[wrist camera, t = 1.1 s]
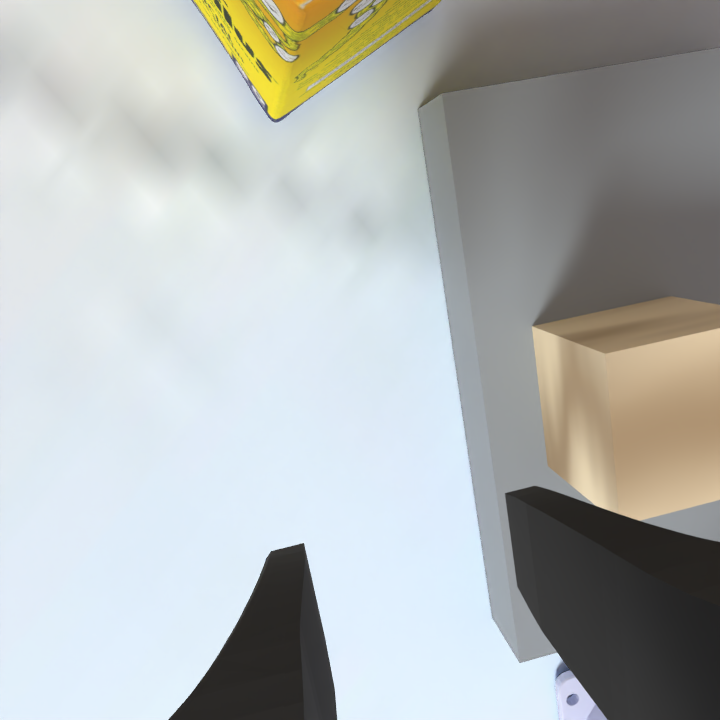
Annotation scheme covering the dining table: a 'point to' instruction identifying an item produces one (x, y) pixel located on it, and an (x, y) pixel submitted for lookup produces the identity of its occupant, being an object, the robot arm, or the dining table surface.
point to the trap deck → (564, 254)
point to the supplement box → (303, 41)
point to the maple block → (634, 404)
